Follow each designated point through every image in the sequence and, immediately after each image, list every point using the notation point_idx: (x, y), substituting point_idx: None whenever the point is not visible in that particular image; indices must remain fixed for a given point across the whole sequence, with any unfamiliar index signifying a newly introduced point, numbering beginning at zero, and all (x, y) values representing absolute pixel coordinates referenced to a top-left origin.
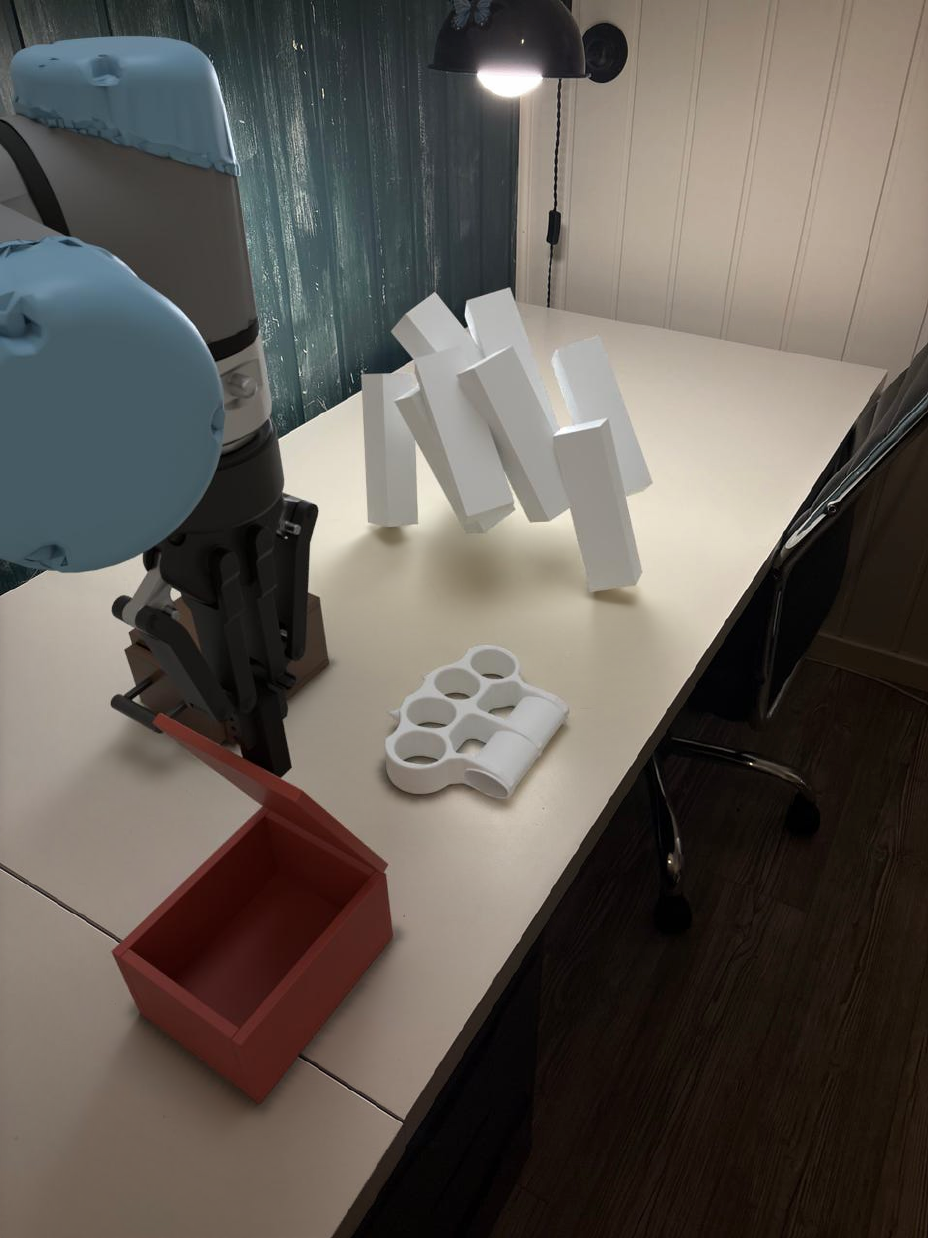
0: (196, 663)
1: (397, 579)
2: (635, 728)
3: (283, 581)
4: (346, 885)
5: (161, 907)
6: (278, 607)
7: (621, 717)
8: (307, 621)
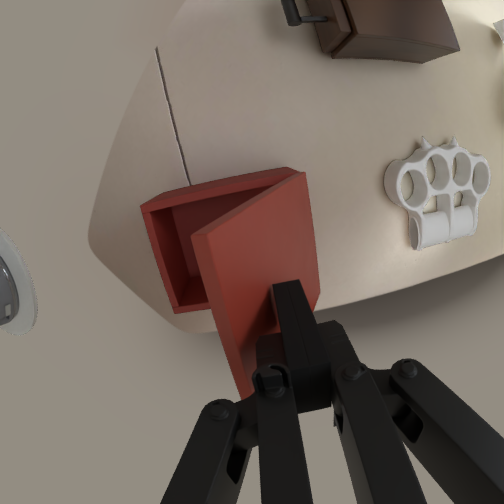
0: None
1: (484, 62)
2: (472, 259)
3: (460, 489)
4: None
5: (181, 198)
6: (433, 453)
7: (476, 248)
8: (440, 50)
